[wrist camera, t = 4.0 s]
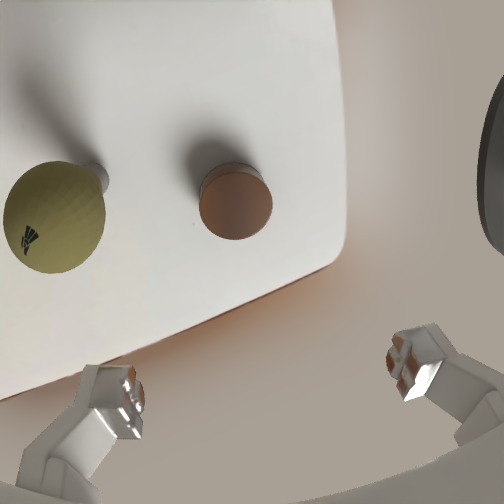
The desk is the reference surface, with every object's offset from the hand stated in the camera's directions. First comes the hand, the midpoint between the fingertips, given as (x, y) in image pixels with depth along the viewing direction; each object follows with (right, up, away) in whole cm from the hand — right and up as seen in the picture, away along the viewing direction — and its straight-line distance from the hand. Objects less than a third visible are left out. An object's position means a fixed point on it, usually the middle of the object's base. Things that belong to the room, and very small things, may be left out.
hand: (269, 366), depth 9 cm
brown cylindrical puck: (-2, +7, +13) cm, 15 cm away
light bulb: (-11, +9, +11) cm, 18 cm away
